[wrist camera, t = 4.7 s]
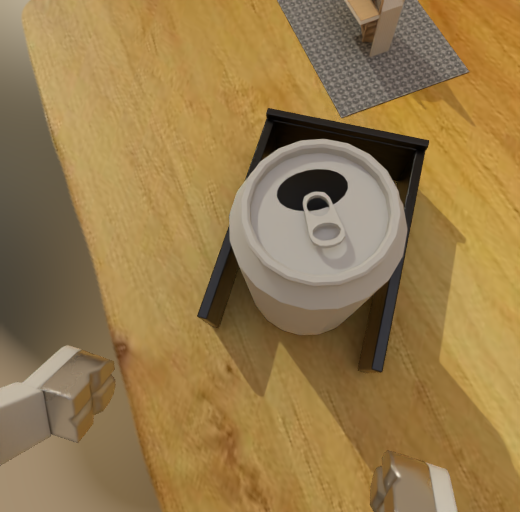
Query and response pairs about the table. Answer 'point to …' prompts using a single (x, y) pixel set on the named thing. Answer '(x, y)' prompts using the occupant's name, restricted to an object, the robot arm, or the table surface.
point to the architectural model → (371, 49)
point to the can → (316, 233)
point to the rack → (399, 168)
